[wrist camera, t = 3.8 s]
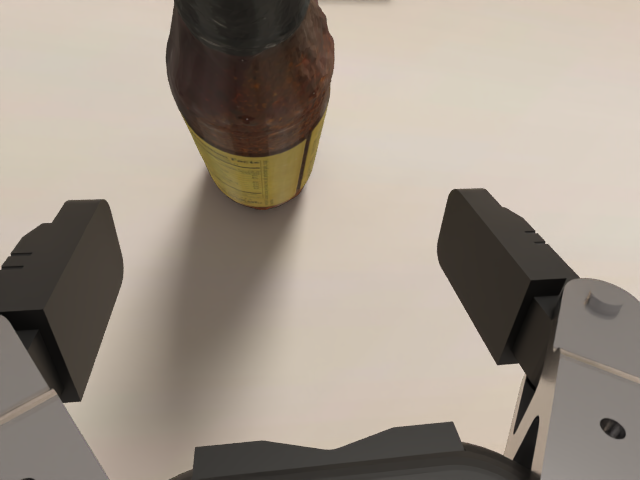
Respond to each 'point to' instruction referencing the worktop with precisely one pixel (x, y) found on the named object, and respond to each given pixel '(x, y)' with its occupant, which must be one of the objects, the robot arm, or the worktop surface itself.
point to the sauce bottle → (252, 91)
